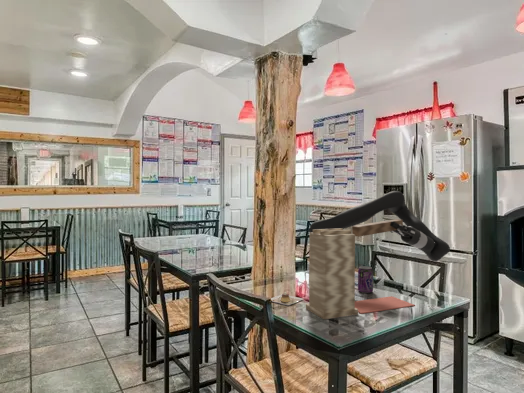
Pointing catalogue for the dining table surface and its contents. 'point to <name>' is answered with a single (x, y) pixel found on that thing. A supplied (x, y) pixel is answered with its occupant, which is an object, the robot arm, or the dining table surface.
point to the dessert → (285, 298)
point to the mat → (380, 304)
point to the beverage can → (365, 279)
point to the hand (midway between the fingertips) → (387, 222)
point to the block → (374, 227)
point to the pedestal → (332, 273)
